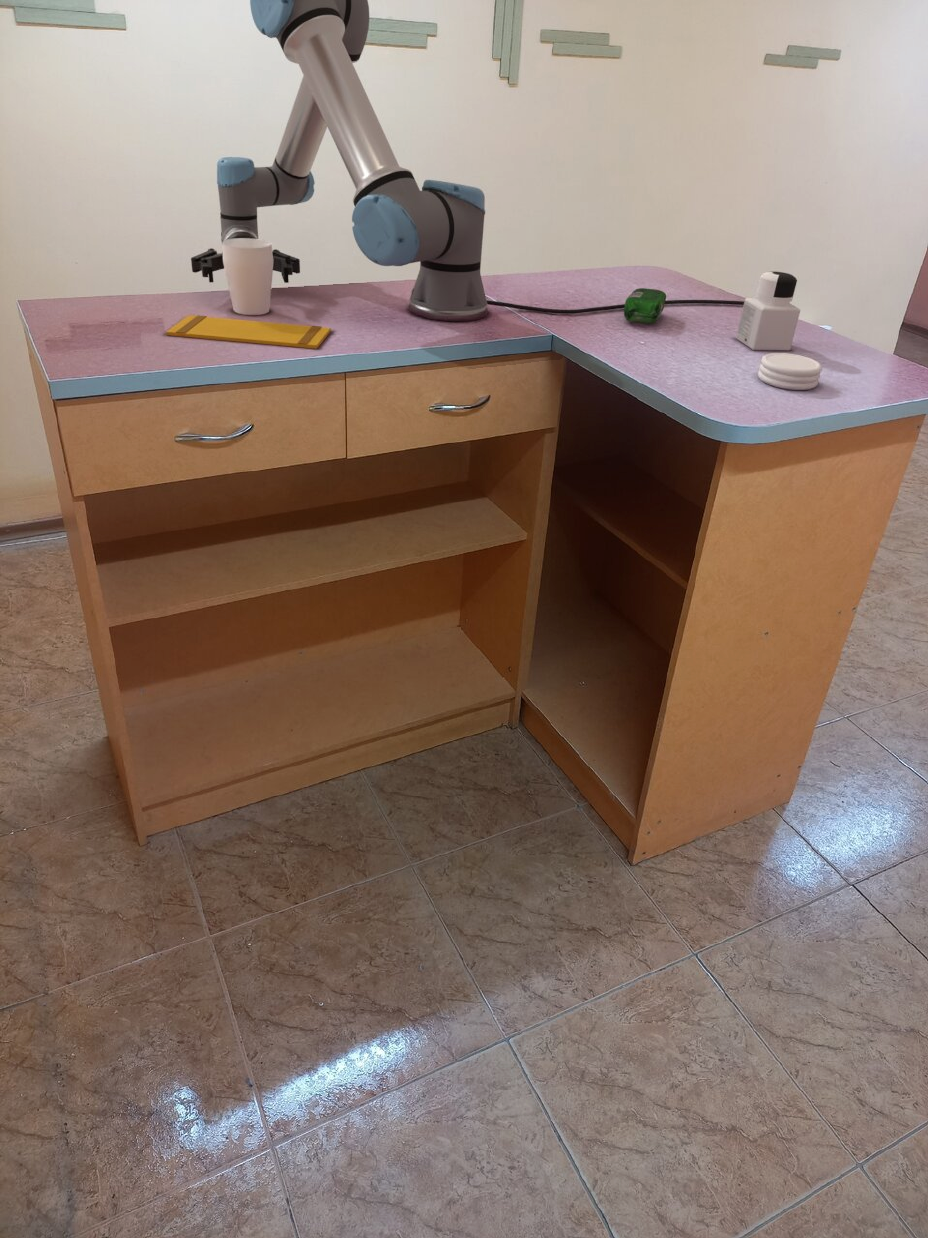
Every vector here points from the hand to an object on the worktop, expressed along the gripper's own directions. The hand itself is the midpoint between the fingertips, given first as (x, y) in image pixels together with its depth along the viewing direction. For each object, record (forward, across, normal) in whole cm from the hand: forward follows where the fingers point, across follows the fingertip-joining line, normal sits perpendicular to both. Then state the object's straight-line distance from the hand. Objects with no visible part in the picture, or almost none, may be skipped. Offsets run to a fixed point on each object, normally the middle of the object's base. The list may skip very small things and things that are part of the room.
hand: (248, 274), depth 165 cm
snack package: (+8, -77, -7) cm, 78 cm away
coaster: (+46, -87, -7) cm, 98 cm away
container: (+26, -94, -7) cm, 98 cm away
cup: (0, 0, -7) cm, 7 cm away
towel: (+15, +1, -6) cm, 16 cm away
